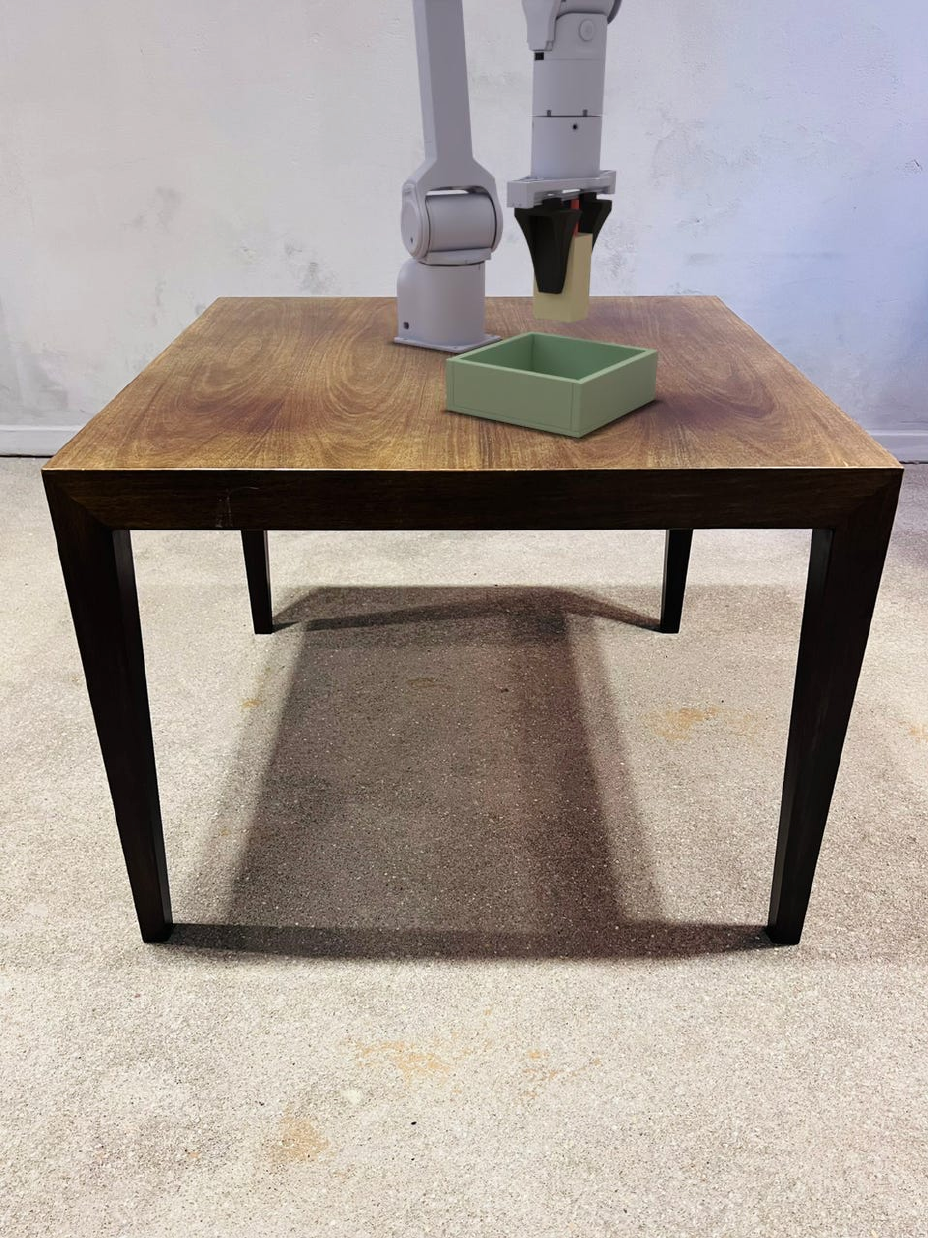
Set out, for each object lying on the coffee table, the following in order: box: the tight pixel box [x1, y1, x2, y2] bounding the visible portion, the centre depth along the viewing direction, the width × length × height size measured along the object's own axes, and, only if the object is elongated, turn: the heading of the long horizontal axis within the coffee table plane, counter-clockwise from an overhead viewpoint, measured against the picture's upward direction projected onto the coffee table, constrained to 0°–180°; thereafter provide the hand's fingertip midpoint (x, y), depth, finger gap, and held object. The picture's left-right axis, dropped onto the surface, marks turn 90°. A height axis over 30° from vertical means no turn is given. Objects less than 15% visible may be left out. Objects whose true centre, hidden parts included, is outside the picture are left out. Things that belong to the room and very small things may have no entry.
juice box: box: [532, 199, 593, 324], centre depth 85 cm, size 4×3×10 cm
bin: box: [445, 330, 659, 439], centre depth 87 cm, size 14×14×4 cm
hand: (560, 289), depth 86 cm, fingers closed on juice box, 3 cm apart
